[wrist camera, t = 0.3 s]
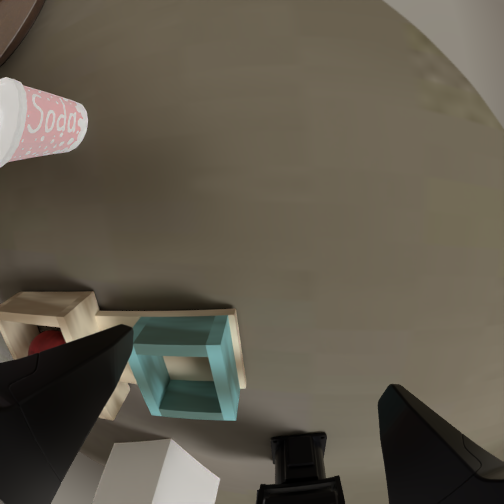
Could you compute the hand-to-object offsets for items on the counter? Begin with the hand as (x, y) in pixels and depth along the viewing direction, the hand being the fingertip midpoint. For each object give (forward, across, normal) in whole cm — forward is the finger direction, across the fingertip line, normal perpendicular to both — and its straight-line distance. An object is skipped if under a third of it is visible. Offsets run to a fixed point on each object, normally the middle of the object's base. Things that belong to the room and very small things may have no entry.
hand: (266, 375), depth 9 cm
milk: (+14, +5, +35) cm, 38 cm away
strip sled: (+13, +12, +13) cm, 22 cm away
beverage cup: (+14, +19, -6) cm, 24 cm away
